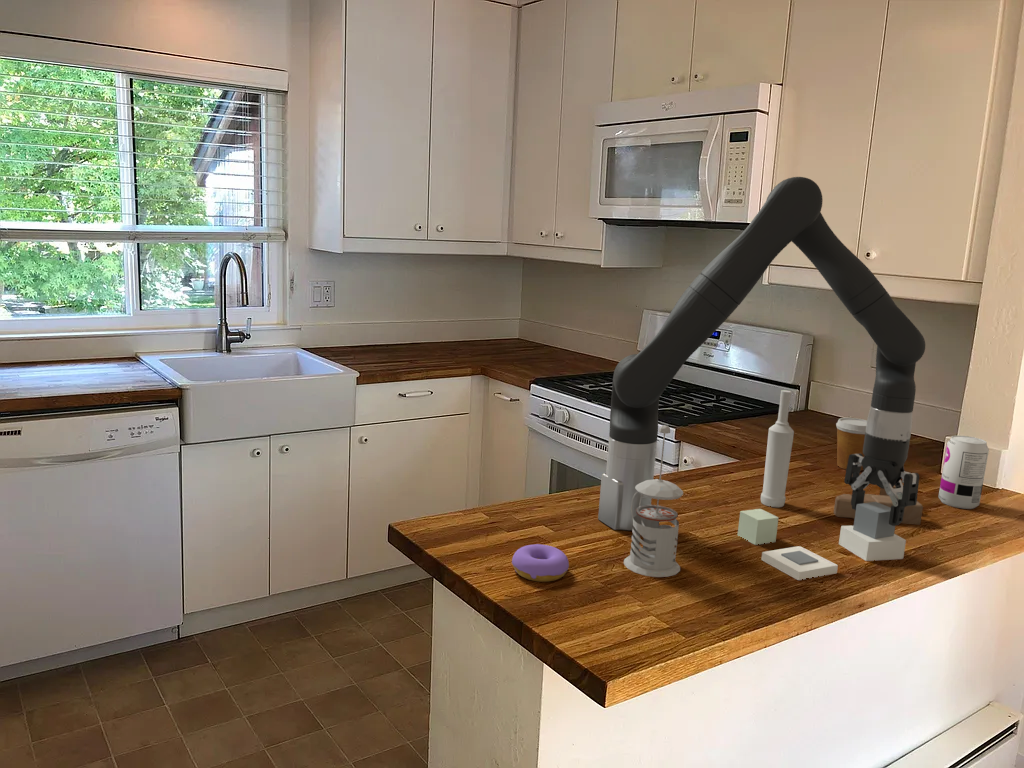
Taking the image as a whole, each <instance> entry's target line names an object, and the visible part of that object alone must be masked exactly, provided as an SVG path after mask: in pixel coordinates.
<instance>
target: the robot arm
mask: <svg viewBox="0 0 1024 768" xmlns="http://www.w3.org/2000/svg"><path fill="white" fill-rule="evenodd" d="M822 208H823V194H822V191H821V188H820V186H819V185H818V184H817V182H815V181H814V180H812V179H810V178H808V177H805V176H792V177H788V178H786V179H783V180H782V181H780V182H779V183H778V184H777V185H776V186H774V187H773V189H772V190H771V191H770V192H769V194H768V196H767V197H766V201H765V202H764V204H763V205H762V206H761V208H760V209H759V211H758V212H757V214H756V215H755V216H754V217H753V219H752V220H751V221H750V223H749V225H747V227H746V228H745V229H744V230H743V231H742V233H740V234H739V236H738V237H736V238H735V239H734V240H733V241H732V242H731V243H729V245H728V246H726V247H725V248H724V249H722V251H720V252H719V254H718V255H716V256H715V257H714V258H713V259H712V260H711V261H710V262H709V263H708V264H707V265H706V266H705V268H703V269H702V270H701V271H700V273H699V274H698V275H697V276H696V277H695V278H694V279H693V281H691V283H690V284H689V285H688V287H687V288H686V289H685V290H684V291H683V293H682V294H681V296H680V297H679V299H678V300H677V302H676V304H675V305H674V306H673V308H672V310H671V311H670V313H669V315H668V316H667V317H666V320H665V321H664V323H663V325H662V327H661V328H660V329H659V331H658V332H657V333H656V334H655V335H654V337H652V339H651V340H650V341H649V342H648V343H647V344H646V345H645V346H644V347H643V348H642V349H641V350H639V352H638V353H634V354H629V355H627V356H625V357H624V358H622V359H621V360H620V361H619V362H618V363H617V365H616V366H615V368H614V371H613V377H612V384H611V385H612V386H611V400H610V401H611V402H610V413H609V414H610V415H609V433H608V435H609V436H608V446H607V457H606V468H605V469H606V471H605V472H604V473H602V474H601V480H600V491H599V493H600V494H599V502H598V503H599V505H598V515H597V517H598V518H597V519H598V520H599V521H600V522H602V524H603V523H604V525H606V526H608V527H609V528H611V529H613V530H616V531H617V530H622V531H632V529H633V520H632V514H631V505H632V498H633V496H634V494H635V493H636V492H637V490H636V489H635V487H636V485H638V484H639V483H641V482H644V481H646V480H653V479H654V476H655V466H656V455H657V443H658V435H659V405H660V397H661V396H662V395H663V393H664V391H666V389H667V387H668V386H669V385H670V383H671V382H672V380H673V379H674V377H676V375H677V374H678V372H679V371H680V370H681V368H682V366H683V365H684V364H685V363H686V362H687V360H688V359H689V358H690V357H691V356H692V355H693V354H694V353H695V352H696V351H697V350H698V349H699V348H701V346H702V345H703V344H704V343H705V342H706V341H707V340H708V339H709V338H710V337H711V336H712V335H713V334H714V333H715V332H716V330H718V329H719V327H721V326H722V325H723V323H725V321H726V320H727V319H728V318H729V317H730V316H731V315H732V313H734V312H735V310H736V309H737V308H738V307H739V306H740V305H741V304H742V302H743V301H744V300H745V298H746V297H747V296H748V295H749V294H750V293H751V291H752V290H753V288H754V287H755V286H756V284H757V283H758V282H759V280H760V279H761V278H762V276H763V275H764V274H765V272H766V271H767V269H768V268H769V266H770V265H771V263H772V262H773V261H774V259H776V257H777V256H778V255H779V254H780V253H781V252H782V251H783V250H784V249H785V248H786V247H787V246H788V245H789V244H790V243H791V242H792V243H793V244H794V245H795V246H796V247H797V248H798V249H799V250H800V251H801V252H802V253H803V255H804V256H805V257H807V259H808V260H809V261H810V262H811V264H812V265H813V266H814V267H815V269H817V271H818V272H819V274H820V275H821V276H822V277H823V278H824V280H825V281H826V283H827V284H828V286H829V287H830V288H831V290H832V291H833V292H834V294H835V295H836V297H837V298H838V299H839V301H840V302H841V304H843V306H844V307H845V308H846V309H847V311H848V312H849V313H850V314H851V315H852V317H853V318H854V319H855V321H857V323H859V324H860V325H861V326H862V327H863V328H864V329H865V330H866V332H867V334H868V335H869V336H870V338H871V339H872V340H873V341H874V343H875V344H876V354H875V355H876V356H875V357H876V358H875V378H874V384H873V388H872V395H871V402H870V407H869V411H868V415H867V419H866V420H867V425H866V431H865V438H864V445H863V454H864V457H863V455H862V454H850V455H849V458H848V464H847V469H845V475H844V479H843V480H844V484H846V485H849V486H850V487H851V490H852V492H851V495H852V498H851V505H852V509H854V510H856V505H857V504H862V503H864V496H865V494H866V490H864V489H866V488H867V487H868V486H869V485H873V486H874V485H875V486H877V487H879V488H883V489H885V491H886V493H887V495H889V496H890V498H891V501H892V503H893V505H892V506H891V511H890V518H889V524H890V525H892V526H895V527H896V526H899V525H901V524H903V523H902V521H903V515H904V509H905V507H906V506H913V505H916V503H917V501H918V494H919V493H918V492H919V483H920V474H919V473H918V472H912V473H911V472H909V471H905V466H904V465H905V463H906V461H907V460H908V453H909V448H910V440H911V434H912V429H913V412H914V405H915V399H916V389H917V385H916V382H915V372H916V365H917V362H919V361H921V359H922V357H923V355H924V354H925V351H926V340H925V338H924V336H923V334H922V333H921V331H920V330H919V329H918V328H917V326H916V325H915V324H914V322H912V321H911V320H910V319H909V318H908V316H907V315H906V314H905V313H904V312H903V311H902V310H901V309H900V308H899V306H897V304H896V303H895V302H894V300H893V298H892V297H891V295H890V293H889V292H888V291H887V289H885V287H884V285H882V283H881V282H880V280H878V278H877V277H876V276H875V274H874V273H873V272H872V271H871V269H870V268H869V267H868V266H867V265H866V264H865V263H864V262H863V261H862V260H861V259H859V257H857V255H855V254H854V253H853V252H852V251H851V250H850V249H849V248H848V247H847V246H846V245H845V244H844V243H843V242H842V241H841V240H840V239H839V237H838V236H837V235H836V234H835V233H834V231H833V230H832V228H831V227H830V226H829V224H828V223H827V221H826V219H825V218H824V216H823V214H822V212H821V211H822ZM861 466H862V467H863V471H862V470H861ZM861 471H862V472H861ZM901 479H902V480H901ZM894 485H895V487H896V489H893V488H892V487H893V486H894ZM897 496H898V497H897ZM643 497H646V496H644V495H643ZM640 498H641V494H640V493H639V492H638V493H637V494H636V495H635V497H634V500H633V519H634V516H635V515H637V513H636V509H637V508H638V507H639V503H640ZM652 499H653V498H650V497H648V498H644V499H643V498H642V499H641V506H643V505H652ZM642 521H643V523H644V525H645V518H643V517H642ZM641 525H642V522H641Z"/></svg>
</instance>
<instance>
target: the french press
mask: <svg viewBox="0 0 1024 768" xmlns="http://www.w3.org/2000/svg"><path fill="white" fill-rule="evenodd" d="M658 433H661V434H663V439H662V449H661V450H662V451H661V456H660V457H661V458H660V469H659V470H660V471H659V479H658V478H655V479H654V478H653V480H646V481H644V482H641V483H639V484H638V485H636V487H635V489H636V490H637V492H636V493H635V494H634V496H633V498H632V505H631V514H632V520H633V529H632V530H631V531H632V535H631V542H630V546H631V547H630V552H629V553H630V554H629V555H628V556H627V557H626V558H624V560H623V565H624V566H625V568H627V569H628V570H630V571H631V572H633V573H636V574H639V575H642V576H646V577H653V578H664V577H665V578H667V577H671V576H676V575H677V574H678V573H679V572H681V565H679V563H678V562H677V561H676V557H677V546H678V537H679V529H680V527H679V526H680V525H679V524H680V523H679V522H680V521H678V519H677V518H678V516H679V514H678V512H677V511H676V510H675V509H672V508H671V507H666V506H663V505H659V501H660V500H662V501H663V500H664V501H671V500H672V501H673V500H677V499H679V498H682V496H683V495H684V491H683V490H682V489H681V487H679V486H678V485H677V484H676V483H673V482H671V481H668V480H664V479H662V471H663V460H664V459H663V458H664V451H665V439H666V434H667V435H668V434H670V433H671V428H670V427H669V425H665V424H664V425H661V426H660V427H658ZM638 492H639V493H640V494H641V498H640V503H639V507H638V508H637V509H636V513H637V515H635V516H634V519H633V500H634V497H635V495H636V494H637V493H638ZM643 495H644V496H646V497H643ZM648 497H650V498H652V499H653V500H656V504H651V505H643V506H641V499H642V498H643V499H644V498H648ZM642 517H643V518H645V525H644V523H643V521H642ZM641 522H642V525H641ZM662 522H663V523H664V522H665V523H666V522H669V523H671V524H672V525H674V527H673V526H671V525H669V524H660V523H662ZM641 537H642V538H643V539H641ZM641 545H642V546H641Z"/></svg>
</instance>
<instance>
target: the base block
mask: <svg viewBox="0 0 1024 768" xmlns="http://www.w3.org/2000/svg"><path fill="white" fill-rule="evenodd" d="M853 526H854V524H853V525H841V527H840V532H839V540H838V545H839V546H841V547H843V548H844V549H846V550H847V551H849V552H850V553H852V554H854V555H855V556H857V557H859V558H860V559H862V560H864V561H865V562H869V561H870V562H871V561H872V562H874V560H875V561H889V560H891V561H893V560H903V559H904V556H905V551H906V543H907V540H906V538H903V537H901V536H899V535H898V534H895V533H894V536H890V537H884V538H878V539H874V538H872V537H869V536H867V535H865V534H862V533H860V532H858V531H855V530H853Z"/></svg>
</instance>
